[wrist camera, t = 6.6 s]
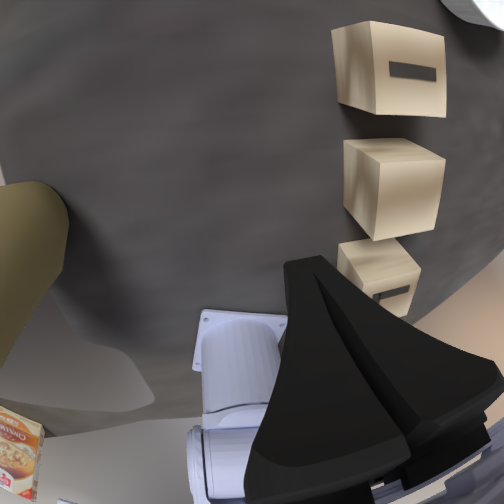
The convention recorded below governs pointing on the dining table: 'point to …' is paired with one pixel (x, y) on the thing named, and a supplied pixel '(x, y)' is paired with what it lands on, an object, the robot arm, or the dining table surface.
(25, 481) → the coffeecake box
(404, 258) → the numbered block seven
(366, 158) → the plain block
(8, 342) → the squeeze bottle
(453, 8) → the ramekin
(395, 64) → the numbered block one
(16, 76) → the dining table surface
